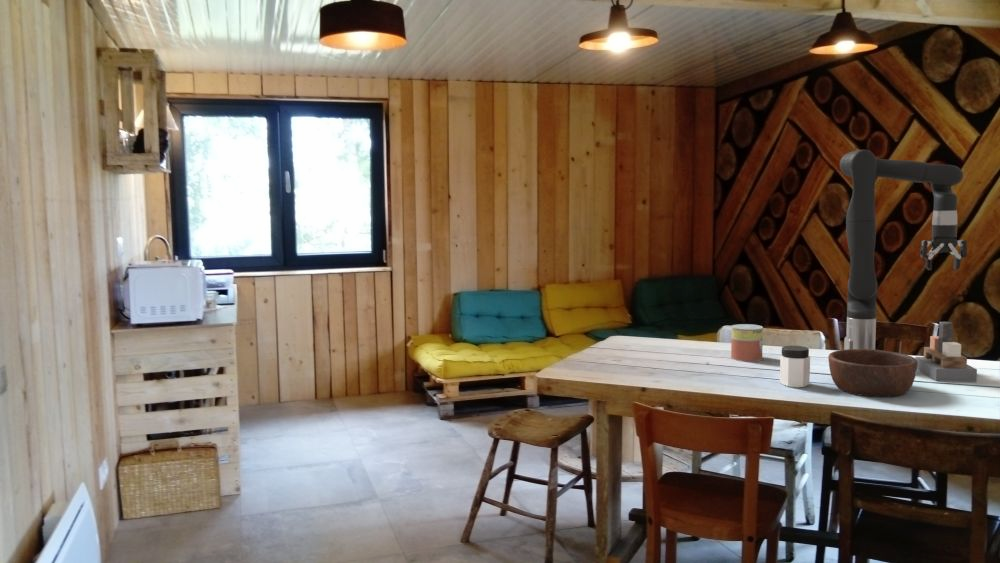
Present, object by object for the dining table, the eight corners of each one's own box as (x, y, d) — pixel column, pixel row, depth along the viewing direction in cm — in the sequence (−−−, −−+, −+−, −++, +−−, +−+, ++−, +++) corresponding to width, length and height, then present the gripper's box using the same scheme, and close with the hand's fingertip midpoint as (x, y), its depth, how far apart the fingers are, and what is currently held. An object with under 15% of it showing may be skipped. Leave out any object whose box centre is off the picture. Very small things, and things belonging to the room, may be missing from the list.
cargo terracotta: (934, 350, 253) (935, 338, 253) (929, 347, 257) (930, 336, 257) (947, 350, 253) (948, 338, 252) (942, 347, 257) (943, 336, 256)
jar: (788, 379, 250) (789, 344, 248) (813, 383, 244) (813, 347, 242) (775, 384, 244) (776, 348, 242) (800, 389, 238) (801, 352, 236)
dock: (935, 381, 243) (936, 368, 243) (914, 368, 261) (915, 356, 260) (976, 381, 241) (976, 369, 241) (952, 368, 259) (952, 357, 258)
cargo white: (947, 356, 244) (947, 344, 243) (942, 354, 248) (942, 342, 247) (960, 356, 243) (961, 344, 243) (955, 354, 247) (955, 342, 246)
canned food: (762, 362, 275) (763, 330, 274) (730, 360, 279) (730, 328, 277) (762, 355, 286) (762, 324, 284) (731, 354, 289) (731, 323, 288)
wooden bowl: (936, 395, 228) (937, 361, 226) (868, 403, 221) (869, 369, 219) (873, 376, 252) (874, 346, 250) (810, 383, 245) (811, 352, 243)
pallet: (943, 368, 243) (944, 326, 242) (923, 357, 259) (925, 318, 257) (966, 368, 242) (968, 326, 241) (945, 357, 258) (947, 318, 256)
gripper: (926, 224, 259) (924, 271, 261) (971, 223, 257) (969, 270, 259) (918, 223, 267) (916, 269, 269) (962, 222, 264) (960, 268, 266)
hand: (942, 269), depth 264 cm, fingers open, 8 cm apart
